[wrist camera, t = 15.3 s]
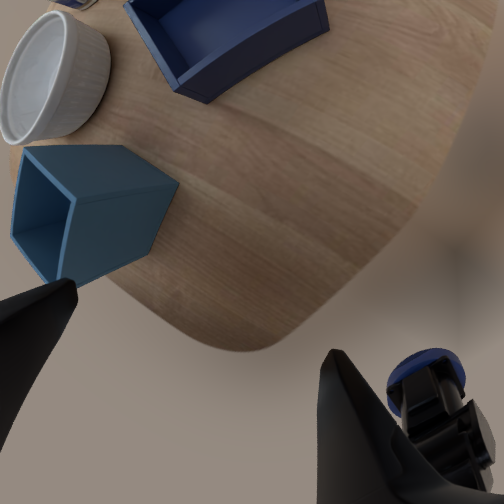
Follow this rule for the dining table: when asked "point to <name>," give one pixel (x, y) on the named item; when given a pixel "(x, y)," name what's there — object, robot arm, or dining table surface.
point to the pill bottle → (76, 3)
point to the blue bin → (86, 209)
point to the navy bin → (222, 38)
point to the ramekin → (53, 79)
